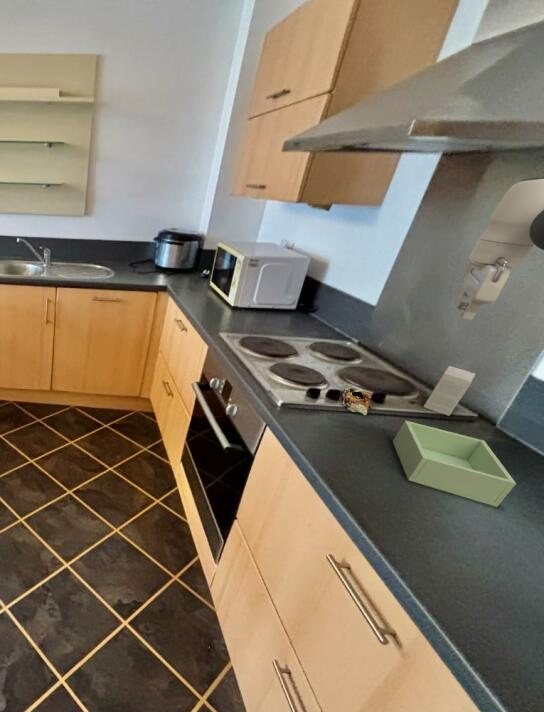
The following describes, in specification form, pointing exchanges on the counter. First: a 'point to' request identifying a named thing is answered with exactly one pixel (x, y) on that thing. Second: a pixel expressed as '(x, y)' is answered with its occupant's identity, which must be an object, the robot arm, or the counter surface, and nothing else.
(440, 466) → the sorting bin
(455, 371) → the small box
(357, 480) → the counter surface
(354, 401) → the pastry
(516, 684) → the counter surface
